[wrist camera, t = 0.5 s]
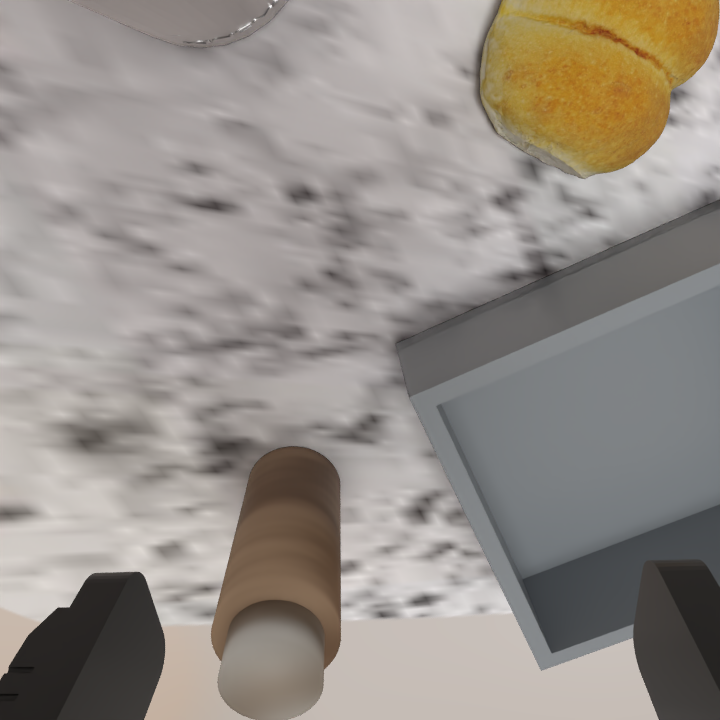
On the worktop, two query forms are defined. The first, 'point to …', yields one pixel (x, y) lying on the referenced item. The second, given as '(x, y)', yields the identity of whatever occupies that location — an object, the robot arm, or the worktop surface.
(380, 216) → the worktop surface
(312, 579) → the pepper mill
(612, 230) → the worktop surface
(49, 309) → the worktop surface
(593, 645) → the bin
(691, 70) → the bread roll
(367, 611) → the worktop surface
